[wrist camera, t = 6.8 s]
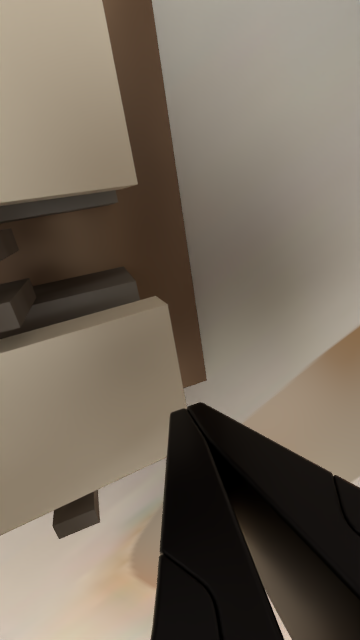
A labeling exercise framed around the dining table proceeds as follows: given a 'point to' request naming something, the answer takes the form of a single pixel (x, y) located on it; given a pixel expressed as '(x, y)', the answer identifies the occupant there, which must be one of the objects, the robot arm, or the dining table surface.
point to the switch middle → (59, 103)
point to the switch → (84, 406)
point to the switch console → (108, 231)
